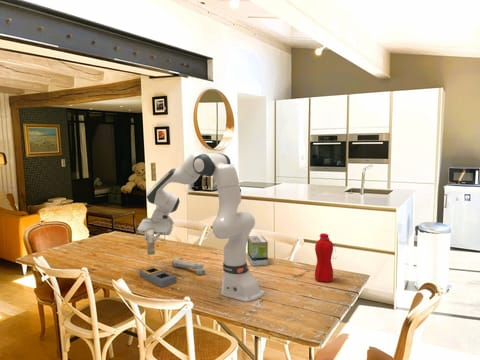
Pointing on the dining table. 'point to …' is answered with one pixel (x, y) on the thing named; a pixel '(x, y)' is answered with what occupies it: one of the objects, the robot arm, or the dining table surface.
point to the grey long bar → (190, 266)
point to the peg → (150, 241)
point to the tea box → (257, 250)
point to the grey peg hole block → (158, 276)
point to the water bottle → (324, 259)
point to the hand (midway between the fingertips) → (149, 240)
